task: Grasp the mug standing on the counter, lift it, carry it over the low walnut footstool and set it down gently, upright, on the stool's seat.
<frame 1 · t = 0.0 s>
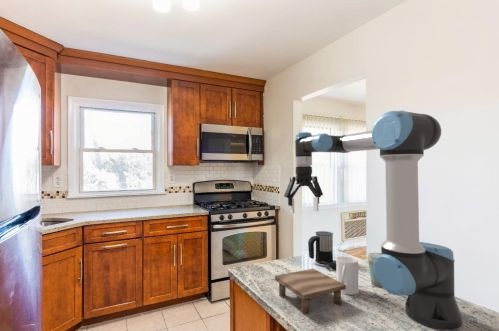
hand: (304, 211, 127), 28 cm above the counter, fingers open, 13 cm apart
coffee cup: (378, 285, 113), on the counter
milk frother: (327, 264, 138), on the counter
mug: (346, 292, 107), on the counter
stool: (309, 299, 100), on the counter
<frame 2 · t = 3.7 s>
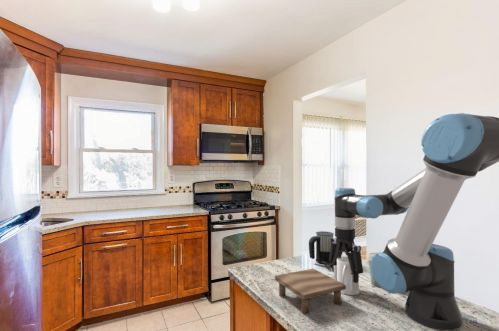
hand: (345, 285, 107), 2 cm above the counter, fingers closed on mug, 8 cm apart
mug: (346, 292, 106), on the counter, touching gripper
everything else where it was.
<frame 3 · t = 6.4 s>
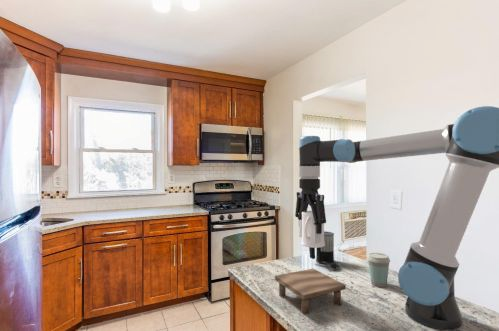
hand: (309, 239, 101), 22 cm above the counter, fingers closed on mug, 8 cm apart
mug: (310, 246, 101), point 19 cm above the counter, touching gripper
everything else where it was.
when the fingers open (10 cm above the counter, at t = 9.0 s): mug drops 1 cm, resting on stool.
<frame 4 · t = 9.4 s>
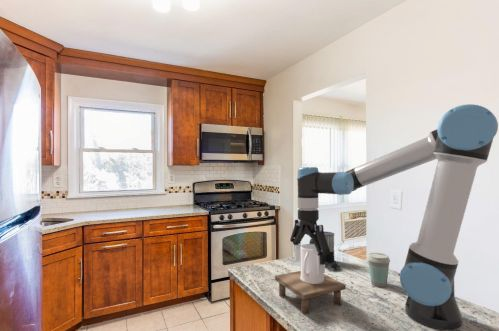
hand: (308, 267, 100), 12 cm above the counter, fingers open, 13 cm apart
mug: (310, 281, 100), point 7 cm above the counter, touching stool
everything else where it was.
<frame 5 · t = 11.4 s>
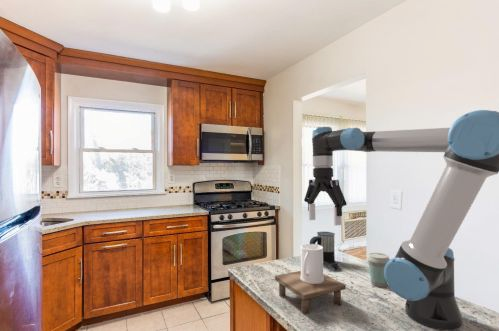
hand: (324, 222, 106), 27 cm above the counter, fingers open, 13 cm apart
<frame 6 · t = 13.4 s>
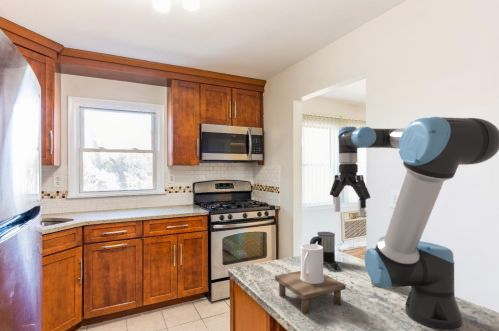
hand: (348, 213, 116), 29 cm above the counter, fingers open, 13 cm apart
at the end: mug inside the target area on the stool (0.8 cm from its centre), point 6.8 cm above the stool's base; mug tilted 0°; the gripper is holding nothing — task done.
